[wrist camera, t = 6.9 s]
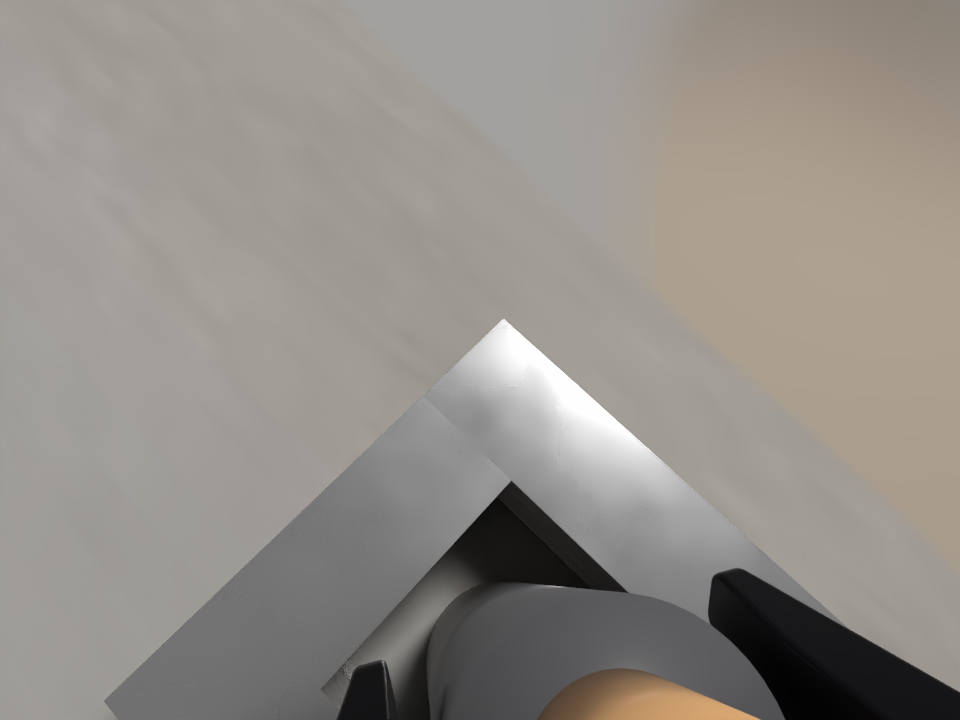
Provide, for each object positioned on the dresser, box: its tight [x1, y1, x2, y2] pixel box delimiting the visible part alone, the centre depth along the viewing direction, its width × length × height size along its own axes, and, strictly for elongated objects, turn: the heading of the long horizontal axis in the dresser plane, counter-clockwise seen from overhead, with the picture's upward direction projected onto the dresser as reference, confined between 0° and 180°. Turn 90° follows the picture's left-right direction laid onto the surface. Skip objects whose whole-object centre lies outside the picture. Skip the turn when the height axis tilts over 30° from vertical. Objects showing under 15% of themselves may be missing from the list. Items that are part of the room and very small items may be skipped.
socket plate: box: [104, 319, 847, 720], centre depth 14 cm, size 12×12×3 cm
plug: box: [426, 581, 785, 720], centre depth 10 cm, size 4×4×12 cm
